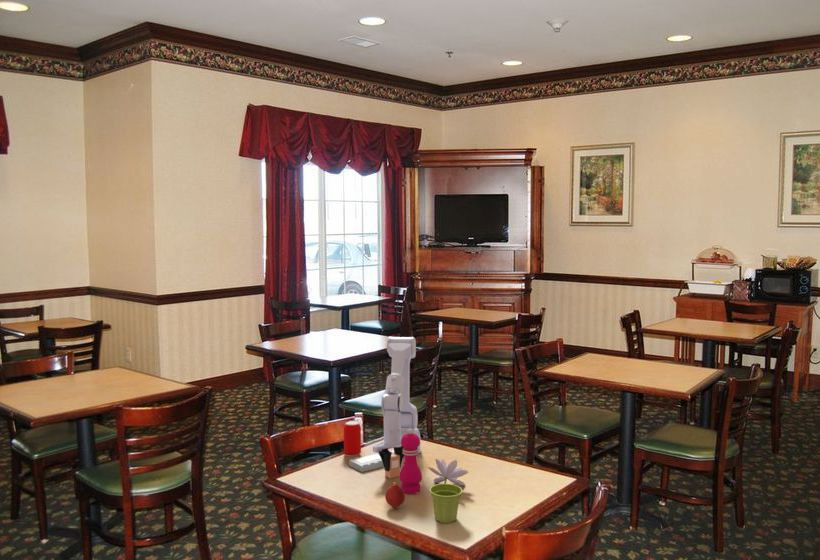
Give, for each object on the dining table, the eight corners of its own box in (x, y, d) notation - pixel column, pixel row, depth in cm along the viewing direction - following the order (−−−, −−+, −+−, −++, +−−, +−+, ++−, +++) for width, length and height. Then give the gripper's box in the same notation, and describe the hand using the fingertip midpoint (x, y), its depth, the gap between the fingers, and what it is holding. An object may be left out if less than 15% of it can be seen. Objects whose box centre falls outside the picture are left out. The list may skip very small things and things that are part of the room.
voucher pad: (377, 458, 250) (377, 452, 250) (390, 464, 244) (390, 458, 243) (349, 465, 243) (349, 459, 242) (362, 472, 236) (362, 466, 236)
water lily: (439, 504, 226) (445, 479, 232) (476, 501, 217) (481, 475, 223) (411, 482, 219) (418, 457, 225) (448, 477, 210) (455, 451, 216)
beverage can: (341, 453, 256) (341, 421, 255) (357, 451, 258) (357, 419, 257) (347, 458, 250) (346, 426, 249) (363, 456, 253) (363, 423, 252)
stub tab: (394, 473, 235) (394, 453, 235) (400, 475, 233) (399, 455, 232) (385, 475, 233) (384, 455, 232) (390, 478, 230) (390, 458, 230)
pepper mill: (422, 486, 223) (422, 425, 222) (421, 495, 216) (420, 432, 214) (400, 485, 224) (400, 425, 222) (398, 494, 217) (397, 431, 215)
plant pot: (460, 511, 204) (460, 483, 203) (464, 525, 194) (464, 495, 194) (428, 512, 203) (428, 483, 203) (430, 526, 194) (430, 496, 193)
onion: (394, 502, 210) (394, 477, 210) (408, 507, 207) (408, 481, 206) (381, 508, 206) (381, 482, 205) (396, 514, 202) (395, 487, 202)
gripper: (381, 436, 224) (381, 477, 225) (416, 427, 233) (417, 467, 234) (369, 431, 229) (369, 471, 231) (404, 423, 238) (404, 461, 239)
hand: (392, 468), depth 233 cm, fingers closed on stub tab, 4 cm apart
